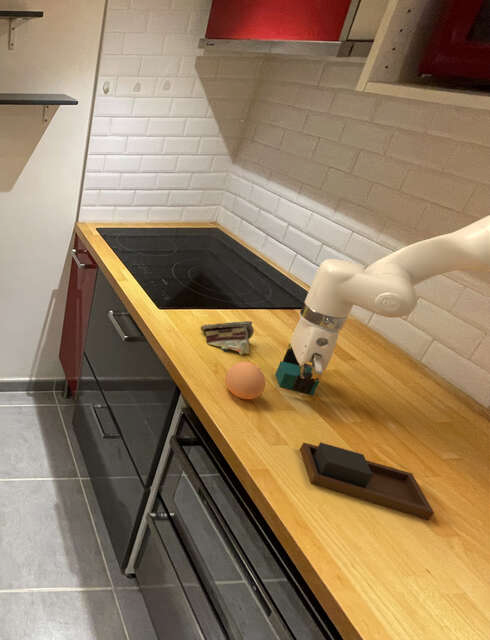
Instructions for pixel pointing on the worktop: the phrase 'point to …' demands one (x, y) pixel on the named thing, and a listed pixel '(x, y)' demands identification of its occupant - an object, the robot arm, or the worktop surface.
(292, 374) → the teal block
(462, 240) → the robot arm
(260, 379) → the egg
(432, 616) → the worktop surface
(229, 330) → the chocolate cake
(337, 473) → the black rectangular block
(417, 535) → the worktop surface
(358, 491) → the backing tray
